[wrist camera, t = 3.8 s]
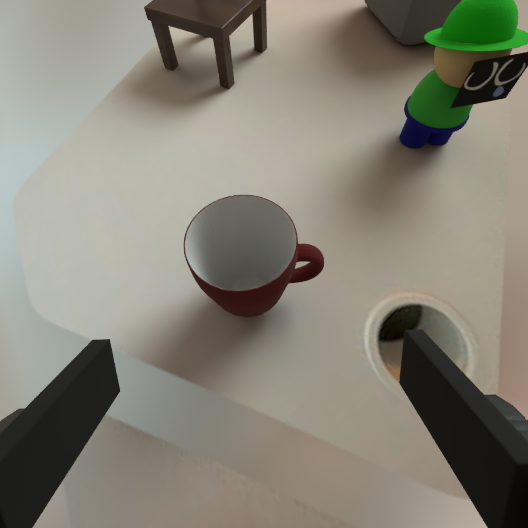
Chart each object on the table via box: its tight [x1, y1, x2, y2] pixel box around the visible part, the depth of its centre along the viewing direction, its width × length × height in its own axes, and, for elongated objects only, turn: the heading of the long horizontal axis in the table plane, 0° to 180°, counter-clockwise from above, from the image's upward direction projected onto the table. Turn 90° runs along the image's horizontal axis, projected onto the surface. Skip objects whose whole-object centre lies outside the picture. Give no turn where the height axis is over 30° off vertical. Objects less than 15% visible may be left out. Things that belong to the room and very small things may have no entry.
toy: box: [400, 0, 528, 148], centre depth 34 cm, size 9×9×15 cm
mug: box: [184, 195, 324, 317], centre depth 27 cm, size 11×8×10 cm
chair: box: [144, 0, 267, 89], centre depth 43 cm, size 12×12×15 cm
